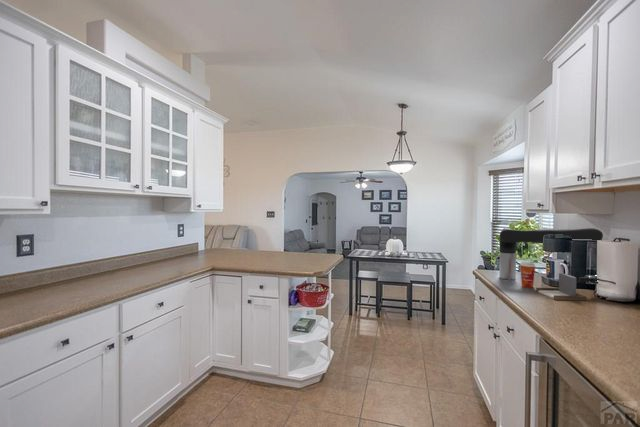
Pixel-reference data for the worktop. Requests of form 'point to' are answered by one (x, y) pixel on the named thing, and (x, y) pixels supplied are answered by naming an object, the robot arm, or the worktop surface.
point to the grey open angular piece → (563, 286)
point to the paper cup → (527, 274)
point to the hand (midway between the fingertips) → (579, 279)
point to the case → (563, 297)
